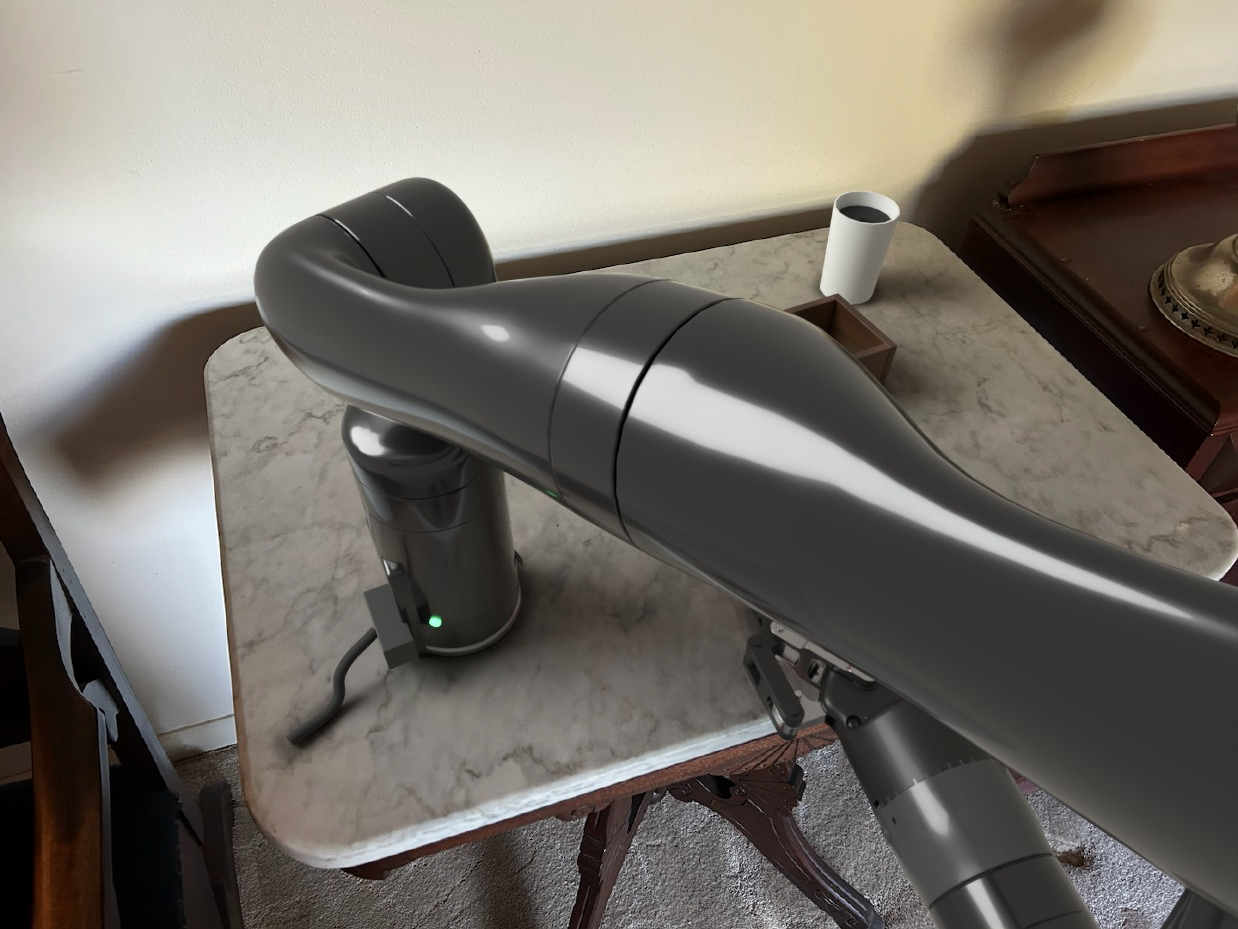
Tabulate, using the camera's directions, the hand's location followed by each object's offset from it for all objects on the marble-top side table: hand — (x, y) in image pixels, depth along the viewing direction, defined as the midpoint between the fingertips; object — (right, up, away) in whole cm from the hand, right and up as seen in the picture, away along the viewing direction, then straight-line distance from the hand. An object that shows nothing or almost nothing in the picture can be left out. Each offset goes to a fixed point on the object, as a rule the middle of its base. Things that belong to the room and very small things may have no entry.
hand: (815, 566), depth 57 cm
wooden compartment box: (+2, +14, +25) cm, 29 cm away
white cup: (+12, +26, +37) cm, 47 cm away
